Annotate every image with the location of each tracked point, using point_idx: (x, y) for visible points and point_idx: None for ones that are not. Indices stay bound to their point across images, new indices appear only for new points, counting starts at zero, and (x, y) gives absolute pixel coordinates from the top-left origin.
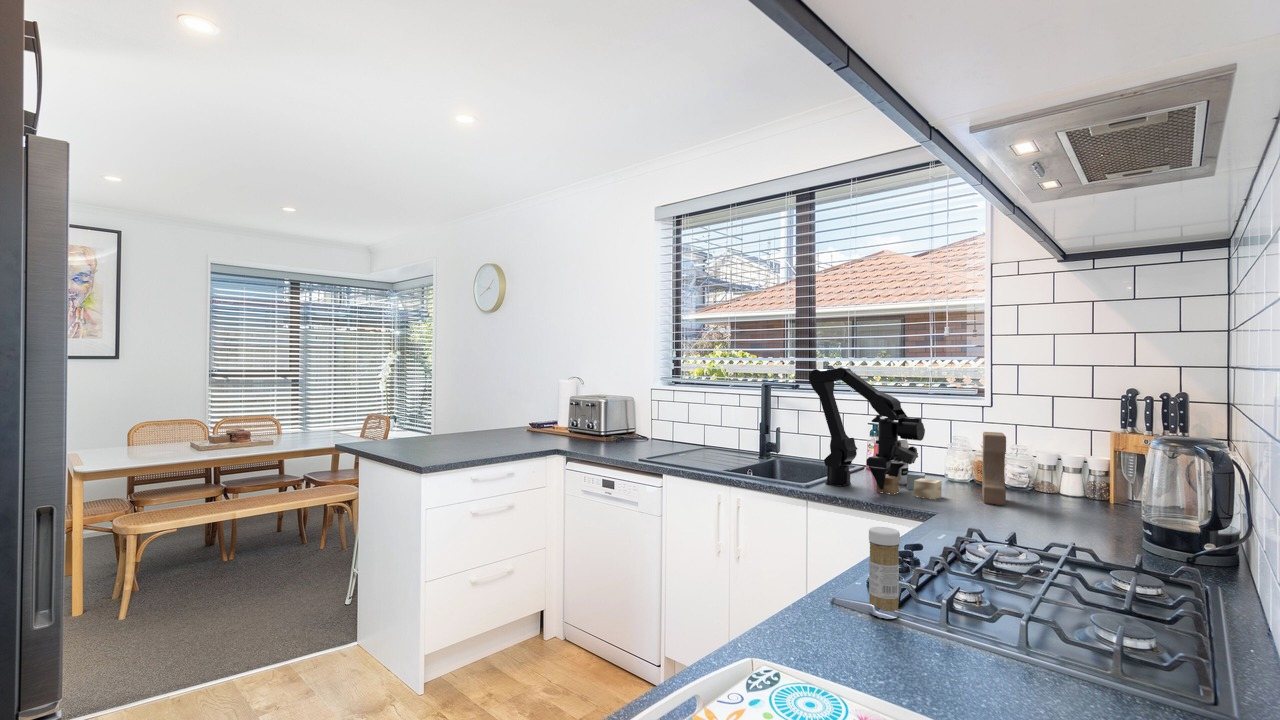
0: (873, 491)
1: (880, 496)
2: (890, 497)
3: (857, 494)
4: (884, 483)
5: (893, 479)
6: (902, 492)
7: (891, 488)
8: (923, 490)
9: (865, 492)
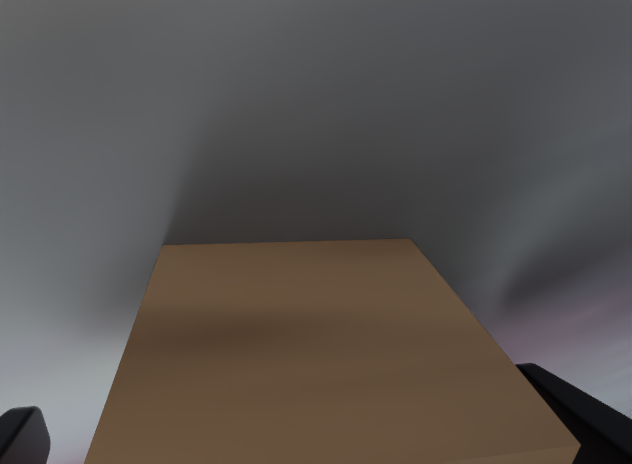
0: None
1: (592, 292)
2: (600, 190)
3: None
4: (600, 425)
5: (507, 432)
6: (85, 213)
7: (448, 305)
8: None
9: None
